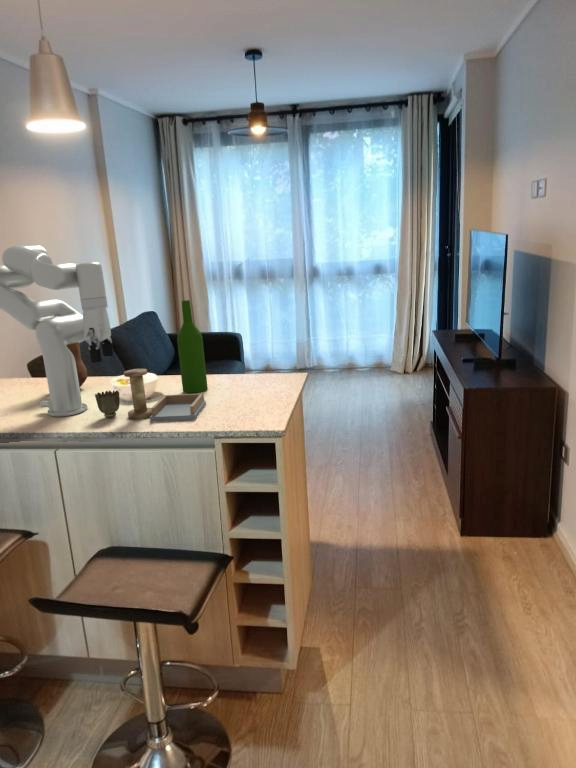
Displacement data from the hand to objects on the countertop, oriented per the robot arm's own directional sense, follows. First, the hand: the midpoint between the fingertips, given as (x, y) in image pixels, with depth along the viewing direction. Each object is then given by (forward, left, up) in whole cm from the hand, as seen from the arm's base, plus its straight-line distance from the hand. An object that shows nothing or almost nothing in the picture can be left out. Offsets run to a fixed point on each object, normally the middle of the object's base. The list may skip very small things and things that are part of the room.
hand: (102, 358), depth 184 cm
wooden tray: (+22, +1, -19) cm, 29 cm away
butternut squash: (-30, +39, -19) cm, 53 cm away
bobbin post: (+10, 0, -19) cm, 21 cm away
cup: (0, 0, -19) cm, 19 cm away
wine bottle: (+21, +29, -19) cm, 41 cm away
